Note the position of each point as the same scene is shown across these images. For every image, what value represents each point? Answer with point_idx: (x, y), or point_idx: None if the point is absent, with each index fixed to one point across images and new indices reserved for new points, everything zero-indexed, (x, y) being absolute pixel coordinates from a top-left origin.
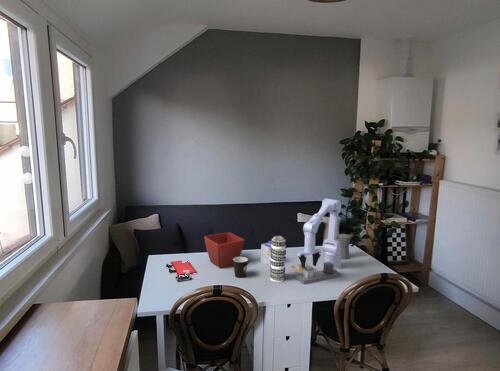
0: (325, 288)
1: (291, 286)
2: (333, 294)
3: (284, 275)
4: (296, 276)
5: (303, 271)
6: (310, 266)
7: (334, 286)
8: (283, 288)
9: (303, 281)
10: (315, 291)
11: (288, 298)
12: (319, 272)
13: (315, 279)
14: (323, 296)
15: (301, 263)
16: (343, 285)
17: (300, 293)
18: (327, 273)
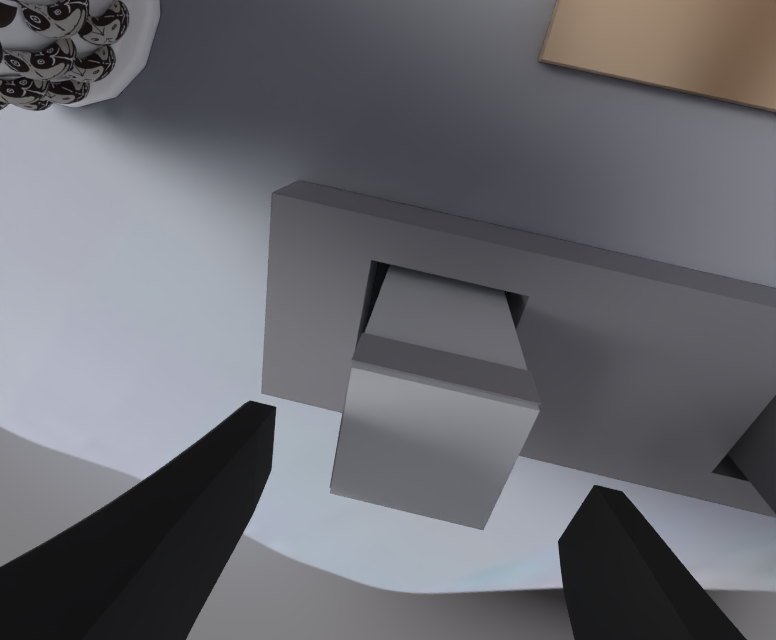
0: None
1: (136, 293)
2: (389, 587)
3: (69, 59)
4: (274, 216)
5: (374, 308)
6: (490, 464)
7: (535, 544)
8: (24, 272)
9: (266, 381)
10: (299, 492)
11: (8, 428)
12: (721, 361)
13: None
14: (295, 559)
15: (177, 473)
16: None
17: (149, 438)
18: (744, 470)
